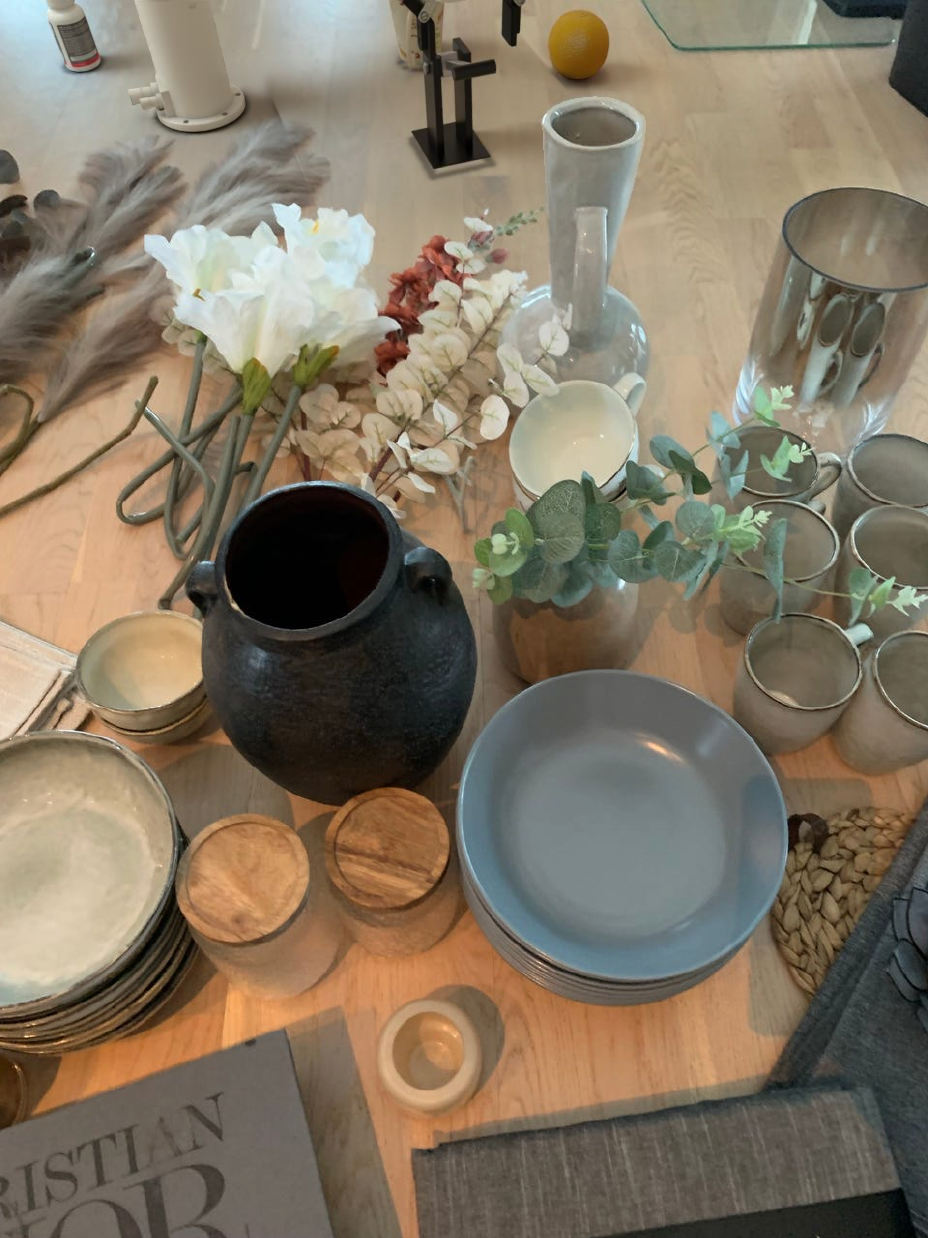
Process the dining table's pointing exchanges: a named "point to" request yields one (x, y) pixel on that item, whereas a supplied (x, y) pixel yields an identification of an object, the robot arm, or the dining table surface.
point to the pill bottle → (72, 35)
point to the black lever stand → (456, 137)
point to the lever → (464, 67)
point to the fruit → (578, 44)
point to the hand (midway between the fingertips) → (469, 48)
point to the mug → (413, 31)
